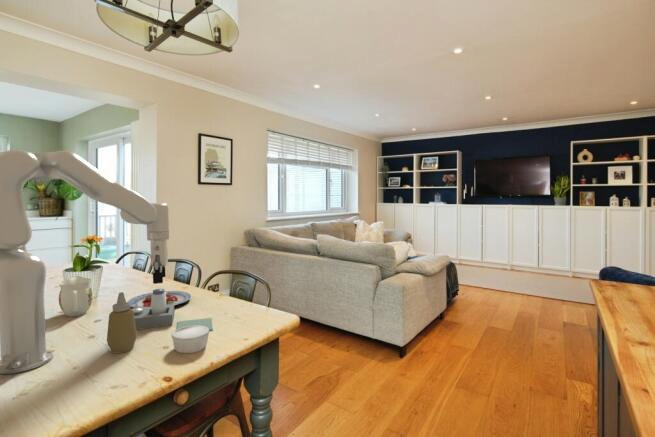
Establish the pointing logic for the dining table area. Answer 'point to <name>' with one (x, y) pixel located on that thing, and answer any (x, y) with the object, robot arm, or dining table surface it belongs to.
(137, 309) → the plunger
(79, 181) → the robot arm
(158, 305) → the cylinder
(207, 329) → the ramekin
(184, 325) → the mat
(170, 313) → the housing
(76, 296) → the pitcher
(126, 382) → the dining table surface
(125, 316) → the squeeze bottle
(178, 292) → the ceramic plate
